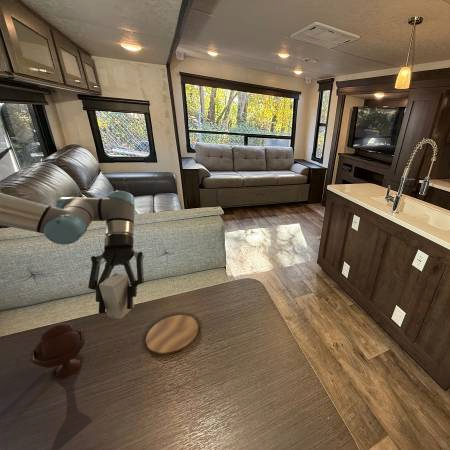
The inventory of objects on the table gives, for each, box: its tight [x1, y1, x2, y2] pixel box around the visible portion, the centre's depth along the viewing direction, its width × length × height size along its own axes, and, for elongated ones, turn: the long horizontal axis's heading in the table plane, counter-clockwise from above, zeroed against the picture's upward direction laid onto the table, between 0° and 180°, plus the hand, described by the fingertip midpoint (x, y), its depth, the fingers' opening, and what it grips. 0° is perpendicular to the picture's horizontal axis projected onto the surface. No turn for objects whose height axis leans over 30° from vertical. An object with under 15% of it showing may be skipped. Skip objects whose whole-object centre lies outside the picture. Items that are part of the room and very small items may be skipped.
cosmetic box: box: [99, 273, 135, 320], centre depth 74 cm, size 6×4×12 cm
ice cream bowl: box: [30, 322, 86, 379], centre depth 68 cm, size 11×11×15 cm
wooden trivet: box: [145, 314, 199, 355], centre depth 85 cm, size 16×16×1 cm
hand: (116, 310), depth 72 cm, fingers closed on cosmetic box, 6 cm apart
